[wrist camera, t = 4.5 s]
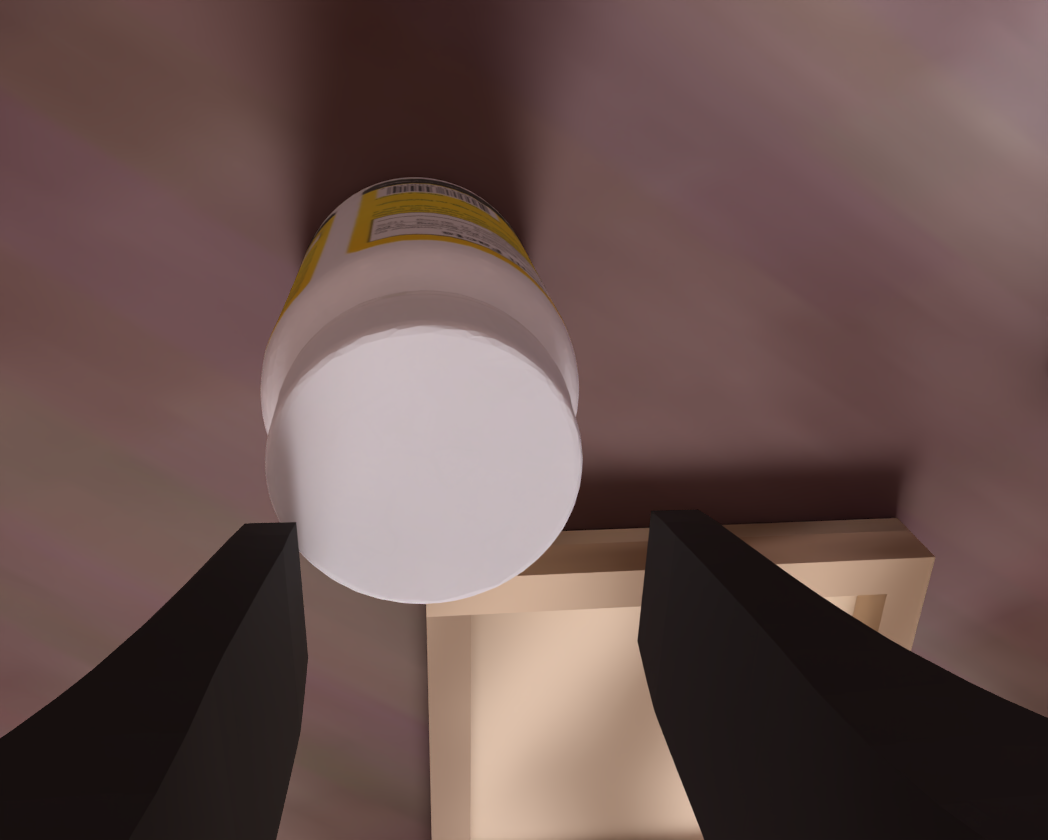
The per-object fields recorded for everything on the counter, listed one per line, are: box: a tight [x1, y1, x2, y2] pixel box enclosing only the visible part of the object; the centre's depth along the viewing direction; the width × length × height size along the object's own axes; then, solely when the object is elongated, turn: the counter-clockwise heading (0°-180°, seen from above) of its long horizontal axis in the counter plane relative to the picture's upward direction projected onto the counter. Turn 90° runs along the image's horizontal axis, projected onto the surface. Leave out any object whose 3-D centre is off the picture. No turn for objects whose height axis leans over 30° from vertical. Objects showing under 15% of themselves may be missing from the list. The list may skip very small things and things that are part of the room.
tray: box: [426, 518, 935, 840], centre depth 23 cm, size 12×12×2 cm
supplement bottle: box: [260, 177, 583, 604], centre depth 15 cm, size 5×5×8 cm
